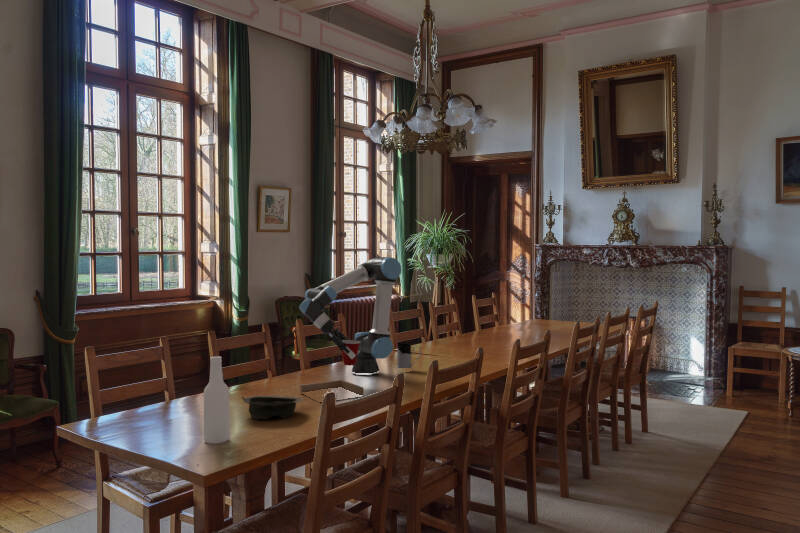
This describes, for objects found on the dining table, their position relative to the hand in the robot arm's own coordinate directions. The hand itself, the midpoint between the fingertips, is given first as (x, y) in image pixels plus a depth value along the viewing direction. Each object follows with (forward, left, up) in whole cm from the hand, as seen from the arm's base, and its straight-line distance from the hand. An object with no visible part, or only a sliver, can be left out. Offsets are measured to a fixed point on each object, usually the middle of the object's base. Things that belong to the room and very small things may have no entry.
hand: (356, 355), depth 317 cm
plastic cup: (+2, -2, -5) cm, 6 cm away
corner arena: (+19, +11, -16) cm, 27 cm away
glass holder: (-45, -21, -16) cm, 52 cm away
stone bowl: (+55, +30, -16) cm, 65 cm away
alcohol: (+85, +53, -16) cm, 102 cm away
